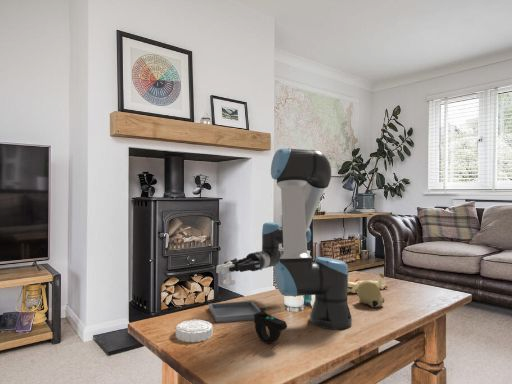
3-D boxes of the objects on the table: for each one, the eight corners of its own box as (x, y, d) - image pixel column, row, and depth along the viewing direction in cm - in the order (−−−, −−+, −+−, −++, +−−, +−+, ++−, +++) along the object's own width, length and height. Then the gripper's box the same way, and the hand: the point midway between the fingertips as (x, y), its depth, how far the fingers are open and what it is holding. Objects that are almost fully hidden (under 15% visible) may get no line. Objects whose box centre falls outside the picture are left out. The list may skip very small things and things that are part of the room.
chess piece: (237, 284, 139) (237, 258, 139) (224, 285, 138) (225, 258, 138) (233, 281, 144) (234, 255, 144) (221, 282, 142) (221, 256, 142)
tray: (263, 318, 137) (263, 313, 137) (216, 322, 132) (216, 317, 132) (251, 305, 152) (251, 300, 152) (208, 308, 147) (208, 303, 147)
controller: (260, 335, 121) (261, 305, 121) (288, 347, 112) (289, 314, 112) (251, 338, 118) (251, 307, 118) (279, 351, 109) (279, 317, 109)
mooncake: (205, 344, 113) (205, 333, 113) (169, 340, 116) (169, 329, 116) (217, 330, 125) (217, 320, 125) (184, 327, 127) (184, 316, 127)
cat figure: (375, 288, 190) (337, 289, 178) (376, 271, 190) (339, 271, 179) (390, 293, 181) (352, 294, 169) (392, 275, 182) (354, 275, 170)
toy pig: (363, 315, 154) (379, 303, 148) (348, 289, 160) (363, 277, 154) (377, 310, 160) (393, 298, 154) (362, 286, 166) (377, 273, 160)
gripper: (271, 272, 151) (235, 283, 132) (243, 267, 160) (205, 276, 141) (272, 254, 151) (235, 262, 132) (243, 250, 160) (205, 257, 141)
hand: (219, 269), depth 136 cm, fingers closed on chess piece, 2 cm apart
